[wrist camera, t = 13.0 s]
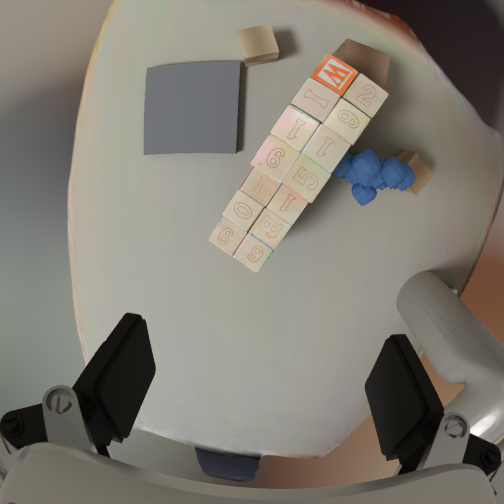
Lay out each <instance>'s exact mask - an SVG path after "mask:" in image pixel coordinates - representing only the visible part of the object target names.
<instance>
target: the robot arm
mask: <svg viewBox="0 0 504 504" xmlns="http://www.w3.org/2000/svg"><path fill="white" fill-rule="evenodd" d="M397 310H398V311H399V313H400V315H401V316H402V318H403V319H404V321H405V322H406V324H407V325H408V327H409V328H410V330H411V332H412V333H413V335H414V336H415V338H416V339H417V341H418V343H419V344H420V346H421V348H422V349H423V351H424V353H425V354H426V356H427V357H428V359H429V361H430V363H431V365H432V366H433V368H434V370H435V371H436V373H437V375H438V376H439V377H440V378H441V379H443V380H444V381H446V382H449V383H454V384H465V386H464V388H463V390H462V391H461V392H460V393H459V394H458V395H457V396H456V397H455V398H454V399H453V400H452V401H451V402H450V403H449V404H447V405H446V406H445V407H443V405H442V403H441V401H440V399H439V397H438V394H437V392H436V390H435V388H434V386H433V384H432V383H431V380H430V378H429V376H428V374H427V373H426V371H425V369H424V367H423V365H422V363H421V361H420V359H419V357H418V356H417V354H416V352H415V350H414V348H413V346H412V345H411V343H410V341H409V339H408V338H407V336H406V335H405V334H393V335H391V336H390V337H389V338H387V339H386V341H385V343H384V345H383V348H382V350H381V352H380V354H379V356H378V359H377V361H376V363H375V365H374V367H373V369H372V371H371V373H370V375H369V377H368V379H367V381H366V383H365V392H366V395H367V398H368V402H369V405H370V409H371V413H372V416H373V420H374V423H375V428H376V431H377V435H378V439H379V443H380V448H381V452H382V454H383V455H386V460H387V461H389V460H394V459H399V462H400V464H399V466H398V468H397V470H396V471H395V473H394V475H393V476H392V477H389V478H384V479H379V480H374V481H369V482H364V483H357V484H351V485H343V486H335V487H323V488H309V489H257V488H242V487H232V486H223V485H216V484H209V483H202V482H197V481H191V480H186V479H181V478H177V477H172V476H168V475H163V474H160V473H156V472H152V471H149V470H146V469H142V468H138V467H135V466H132V465H129V464H126V463H123V462H120V461H117V460H114V458H113V456H112V453H111V451H110V448H109V445H110V443H111V440H113V441H116V442H119V443H122V441H123V439H124V438H127V437H128V436H129V434H130V431H131V429H132V427H133V424H134V422H135V419H136V417H137V415H138V412H139V410H140V407H141V405H142V403H143V400H144V398H145V396H146V393H147V391H148V389H149V387H150V384H151V382H152V380H153V377H154V375H155V371H156V366H155V362H154V358H153V353H152V349H151V344H150V339H149V334H148V329H147V324H146V321H145V319H142V316H141V315H138V314H133V313H126V314H125V315H124V316H123V317H122V319H121V320H120V321H119V323H118V324H117V326H116V327H115V328H114V330H113V331H112V332H111V334H110V335H109V337H108V338H107V339H106V341H104V342H103V343H102V345H101V346H100V347H99V349H98V350H97V352H96V353H95V355H94V356H93V357H92V359H91V360H90V362H89V363H88V365H87V366H86V368H85V369H84V371H83V372H82V374H81V375H80V377H79V378H78V380H77V381H76V383H75V384H74V386H73V387H72V388H70V387H68V386H64V385H59V386H54V387H52V388H50V389H49V390H47V392H46V393H45V394H44V396H43V399H42V403H41V404H38V405H33V406H30V407H26V408H22V409H17V410H14V411H10V412H7V413H6V414H5V415H4V416H3V417H2V419H1V421H0V504H504V438H503V439H502V440H501V441H500V442H499V443H498V444H496V445H495V444H493V443H494V442H496V441H497V440H498V439H499V438H500V437H502V436H503V435H504V347H503V346H502V345H501V344H500V343H499V342H498V341H497V340H496V338H495V337H494V336H493V335H492V334H491V333H490V332H489V331H488V330H487V329H486V327H485V326H484V325H483V324H482V323H481V322H480V320H479V319H478V318H477V317H476V316H475V315H474V314H473V313H472V312H471V310H470V309H469V308H468V307H467V306H466V305H465V304H464V303H463V302H462V301H461V300H460V299H459V298H458V296H457V289H456V288H451V289H450V288H449V287H448V286H447V285H446V284H445V283H444V282H443V281H442V280H441V279H440V278H439V277H438V276H437V275H436V274H434V273H432V272H429V271H424V272H420V273H417V274H416V275H414V276H412V277H411V278H410V279H409V280H408V281H407V282H406V283H405V284H404V285H403V287H402V288H401V290H400V292H399V294H398V297H397Z"/></svg>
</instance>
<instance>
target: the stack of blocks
mask: <svg viewBox="0 0 504 504" xmlns="http://www.w3.org/2000/svg"><path fill="white" fill-rule="evenodd" d="M388 95H389V94H388V93H387V92H386V91H384V90H383V89H382V88H381V87H379V86H378V85H377V84H375V83H374V82H372V81H371V80H370V79H368V78H367V77H366V76H364V75H363V74H359V73H358V71H356V70H355V69H354V68H352V67H351V66H349V65H347V64H346V63H344V62H343V61H341V60H339V59H338V58H336V57H334V56H333V55H331V54H327V55H326V56H325V57H324V59H323V60H322V61H321V63H320V64H319V65H318V67H317V68H316V69H315V71H314V72H313V73H312V75H311V77H310V78H308V79H307V80H306V82H305V83H304V84H303V86H302V87H301V89H300V90H299V92H298V93H297V95H296V96H295V97H294V99H293V100H292V102H291V104H290V105H288V106H287V107H286V109H285V110H284V112H283V113H282V115H281V116H280V118H279V119H278V121H277V122H276V124H275V125H274V127H273V128H272V130H271V132H270V134H269V135H268V137H267V138H266V140H265V141H264V143H263V144H262V146H261V147H260V149H259V150H258V152H257V153H256V155H255V157H254V158H253V160H252V161H251V165H253V166H254V168H253V169H252V171H251V172H250V174H249V175H248V177H247V178H246V180H245V181H244V183H243V184H242V186H241V188H240V189H238V190H237V192H236V193H235V195H234V196H233V198H232V199H231V201H230V202H229V204H228V206H227V207H226V209H225V211H224V212H223V216H222V218H221V219H220V221H219V222H218V224H217V226H216V227H215V229H214V230H213V232H212V234H211V235H210V237H209V238H208V240H209V241H211V242H212V243H214V244H215V245H216V246H218V247H219V248H221V249H222V250H224V251H225V252H226V253H228V254H229V255H231V256H233V257H234V258H236V259H237V260H239V261H240V262H241V263H243V264H244V265H246V266H247V267H249V268H250V269H252V270H253V271H254V272H256V273H257V272H258V271H259V270H260V268H261V267H262V266H263V264H264V263H265V262H266V260H267V259H268V258H269V256H270V255H271V253H272V252H273V250H275V248H276V247H277V246H278V244H279V243H280V242H281V240H282V239H283V238H284V236H285V235H286V233H287V232H288V231H289V229H290V228H291V226H292V225H293V224H294V223H295V221H296V220H297V218H298V217H299V216H300V214H301V213H302V211H303V210H304V208H305V207H306V205H307V204H308V203H312V202H313V201H314V199H315V198H316V197H317V195H318V194H319V192H320V191H321V189H322V188H323V187H324V185H325V184H326V182H327V181H328V179H329V178H330V176H331V174H332V172H333V170H334V169H335V168H336V166H337V165H338V163H339V162H340V161H341V159H342V158H343V156H344V155H345V153H346V152H347V150H348V149H349V148H350V146H353V145H354V143H355V142H356V140H357V139H358V137H359V136H360V135H361V133H362V132H363V130H364V129H365V127H366V126H367V125H368V123H369V122H370V120H371V119H372V118H373V117H374V115H375V114H376V112H377V111H378V110H379V108H380V107H381V105H382V104H383V103H384V101H385V100H386V98H387V97H388Z"/></svg>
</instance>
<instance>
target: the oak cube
mask: <svg viewBox="0 0 504 504" xmlns="http://www.w3.org/2000/svg"><path fill="white" fill-rule="evenodd" d="M396 158H397V159H398V160H399V161H400V162H401V163H403V162H405V161H406V163H407V164H408V165H409V166H410V167H411V169H412V170H413V172H414V174H415V177H416V178H415V181H414V183H413V185H411V186H410V187H408V188H407V189H405V191H408V192H410V193H412V194H414V195H416V196H417V195H418V193H419V192H420V191H421V190H422V188H423V187H424V186H425V185H426V183H427V182H428V181H429V179H430V178H431V177H432V176H433V173H432V172H431V170H430V169H429V168H428V166H427V165H426V164H425V162H424V161H423V160H422V158H421V157H420V156H419V155H418V153H417V152H412V151H405V150H402V151H401V152H400V153H399V154H398V156H397V157H396Z"/></svg>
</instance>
